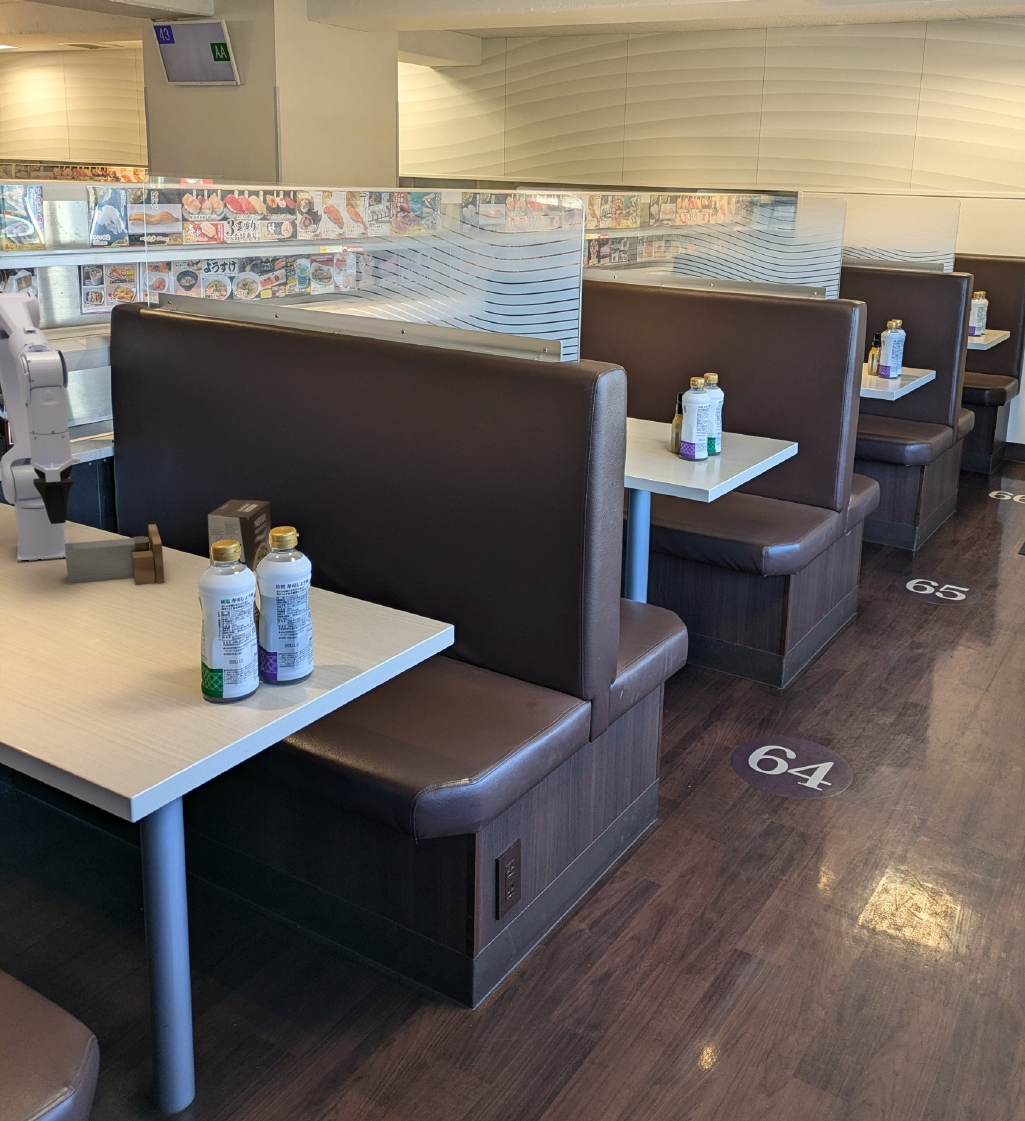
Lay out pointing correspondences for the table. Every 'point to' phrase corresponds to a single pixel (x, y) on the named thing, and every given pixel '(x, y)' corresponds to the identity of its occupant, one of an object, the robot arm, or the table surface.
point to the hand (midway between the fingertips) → (58, 516)
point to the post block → (149, 560)
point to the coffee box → (242, 528)
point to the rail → (102, 559)
